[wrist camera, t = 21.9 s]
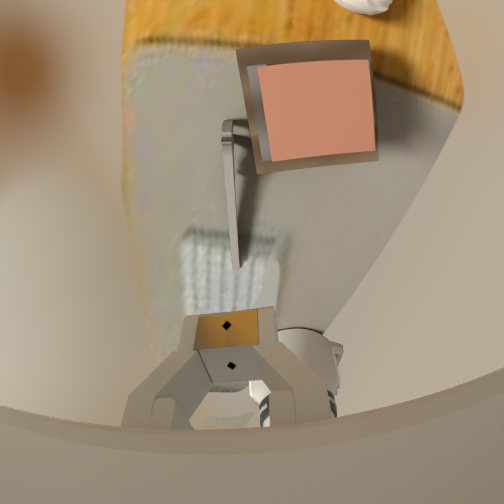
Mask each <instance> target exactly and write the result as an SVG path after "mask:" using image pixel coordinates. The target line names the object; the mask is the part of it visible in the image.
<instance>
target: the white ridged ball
mask: <svg viewBox="0 0 504 504" xmlns="http://www.w3.org/2000/svg"><path fill="white" fill-rule="evenodd" d="M334 1H335V2H336V3H337V4H339V5H340V6H341V7H343V8H345V9H347V10H349V11H351V12H354V13H359V14H366V15H375V14H379V13H382V12H385V11H387V10H388V8H389V7H388V6H389V5H390V4H391V3H392V1H393V0H334Z"/></svg>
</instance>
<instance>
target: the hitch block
mask: <svg viewBox="0 0 504 504" xmlns="http://www.w3.org/2000/svg"><path fill="white" fill-rule="evenodd" d="M236 55H237V61H238V66H239V72H240V78H241V83H242V89H243V95H244V100H245V106H246V112H247V118H248V124H249V129H250V135H251V141H252V147H253V153H254V159H255V165H256V171H257V175H258V174H265V173H272V172H279V171H287V170H295V169H303V168H311V167H320V166H329V165H338V164H348V163H359V162H370V161H378V136H377V116H376V101H375V89H374V78H373V69H372V60H371V52H370V44H369V40H324V41H305V42H292V43H281V44H272V45H263V46H256V47H249V48H242V49H236ZM330 60H368V61H369V70H370V79H371V90H372V102H373V116H374V135H375V151H364V152H352V153H341V154H331V155H322V156H313V157H305V158H297V159H289V160H281V161H274V162H272V159H271V152H270V145H269V139H268V132H267V126H266V119H265V113H264V106H263V100H262V94H261V88H260V82H259V76H258V70H257V67H262V66H270V65H279V64H288V63H299V62H312V61H330Z"/></svg>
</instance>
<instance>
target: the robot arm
mask: <svg viewBox="0 0 504 504" xmlns="http://www.w3.org/2000/svg"><path fill="white" fill-rule="evenodd" d="M342 354H343V346H342V345H341V344H338V343H335V342H331V341H329V340H328V339H327V338H325V337H324V336H323V335H321V334H319V333H317V332H315V331H312V330H307V329H287V330H282V331H277V324H276V318H275V311H274V307H273V306H269V307H262V308H256V309H248V310H241V311H232V312H223V313H212V314H200V315H190V316H186V317H185V318H184V320H183V325H182V329H181V334H180V339H179V344H178V349H177V352H172V353H171V354H170V355H169V356H168V357H167V358H166V359H165V360H164V361H163V362H162V363H161V364H160V365H159V366H158V367H157V368H156V369H155V370H154V371H153V372H152V373H151V374H150V375H149V376H148V377H147V378H146V379H145V380H144V381H143V382H142V383H141V384H140V385H139V386H138V387H137V388H136V389H135V390H134V391H133V392H132V393H131V394H130V395H129V396H128V400H127V404H126V408H125V412H124V415H123V420H122V423H121V427H118V426H108V425H100V424H92V423H85V422H78V421H71V420H65V419H60V418H54V417H49V416H44V415H39V414H35V413H30V412H26V411H22V410H17V409H13V408H9V407H6V406H2V405H0V504H504V368H501V369H499V370H497V371H494V372H492V373H490V374H487V375H484V376H482V377H479V378H477V379H474V380H472V381H469V382H466V383H463V384H461V385H458V386H455V387H452V388H449V389H447V390H443V391H440V392H437V393H434V394H431V395H428V396H424V397H421V398H417V399H414V400H411V401H407V402H403V403H399V404H395V405H392V406H387V407H383V408H379V409H375V410H371V411H366V412H361V413H356V414H351V415H346V416H341V417H337V411H336V410H337V407H336V403H335V399H334V396H335V395H337V389H338V388H339V385H340V379H339V373H338V364H339V361H340V359H341V356H342ZM239 381H249V385H250V395H251V397H253V398H254V400H255V401H256V402H257V403H258V404H259V405H260V406H259V408H260V409H259V410H260V412H259V419H260V425H261V427H256V428H242V429H221V430H195V429H194V428H193V427H192V425H191V424H190V422H189V421H188V420H189V419H190V417H191V416H192V414H193V413H194V411H195V410H196V409H197V407H198V406H199V404H200V403H201V402H202V400H203V399H204V397H205V396H206V395H207V393H208V392H209V390H210V389H211V387H212V386H213V384H218V383H229V382H239Z"/></svg>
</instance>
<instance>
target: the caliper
mask: <svg viewBox="0 0 504 504" xmlns="http://www.w3.org/2000/svg"><path fill="white" fill-rule="evenodd" d="M232 133H233V120H224V122H223V125H222V140H221V144H222V154H223V162H224V176H225V189H226V198H227V211H228V223H229V236H230V248H231V259H232V267H233V269H240V264H239V244H238V228H237V211H236V194H235V170H234V134H232Z"/></svg>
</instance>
